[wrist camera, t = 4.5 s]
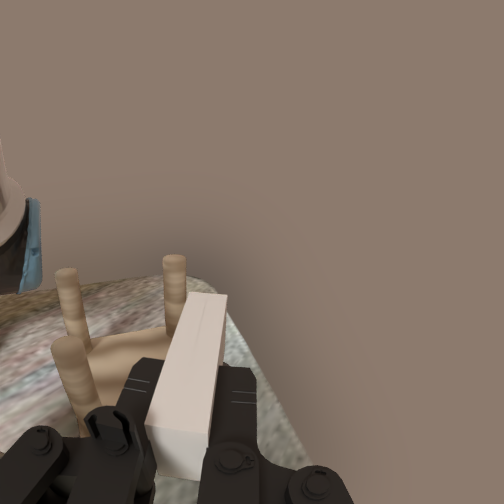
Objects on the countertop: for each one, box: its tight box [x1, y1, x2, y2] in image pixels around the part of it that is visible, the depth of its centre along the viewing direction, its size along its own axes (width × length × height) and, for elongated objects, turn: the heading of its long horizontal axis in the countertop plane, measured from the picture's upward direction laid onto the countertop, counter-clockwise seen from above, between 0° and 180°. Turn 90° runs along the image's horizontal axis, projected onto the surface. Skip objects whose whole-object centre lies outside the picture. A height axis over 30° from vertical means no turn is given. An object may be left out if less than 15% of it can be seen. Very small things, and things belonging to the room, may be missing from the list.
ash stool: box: [51, 254, 186, 438], centre depth 33 cm, size 18×18×14 cm
